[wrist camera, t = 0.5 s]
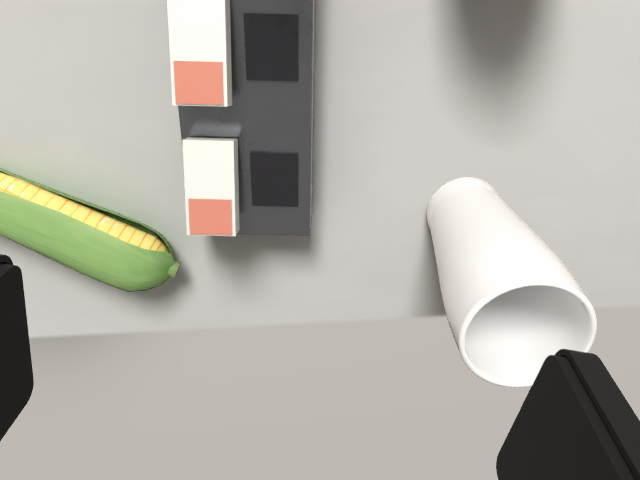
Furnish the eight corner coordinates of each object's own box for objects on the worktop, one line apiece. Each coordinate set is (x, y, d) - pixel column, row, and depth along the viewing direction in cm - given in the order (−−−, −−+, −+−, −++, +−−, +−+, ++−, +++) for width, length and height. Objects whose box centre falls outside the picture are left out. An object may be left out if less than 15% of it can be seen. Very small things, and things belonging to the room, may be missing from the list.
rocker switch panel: (317, -203, 28) (315, -229, 24) (312, 210, 39) (309, 239, 35) (164, -206, 28) (136, -233, 24) (202, 207, 39) (188, 235, 35)
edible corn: (156, 316, 39) (169, 280, 36) (-125, 202, 36) (-137, 153, 33) (181, 266, 43) (195, 230, 40) (-72, 160, 40) (-77, 112, 37)
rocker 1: (229, -5, 29) (224, -11, 27) (232, 105, 30) (227, 106, 29) (174, -7, 29) (165, -12, 27) (179, 104, 30) (171, 105, 29)
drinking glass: (521, 225, 40) (615, 360, 26) (436, 261, 41) (485, 406, 28) (489, 148, 37) (577, 256, 24) (400, 190, 38) (436, 314, 25)
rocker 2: (237, 138, 33) (233, 141, 31) (239, 229, 34) (235, 236, 33) (188, 137, 33) (181, 140, 31) (193, 228, 34) (186, 235, 33)
